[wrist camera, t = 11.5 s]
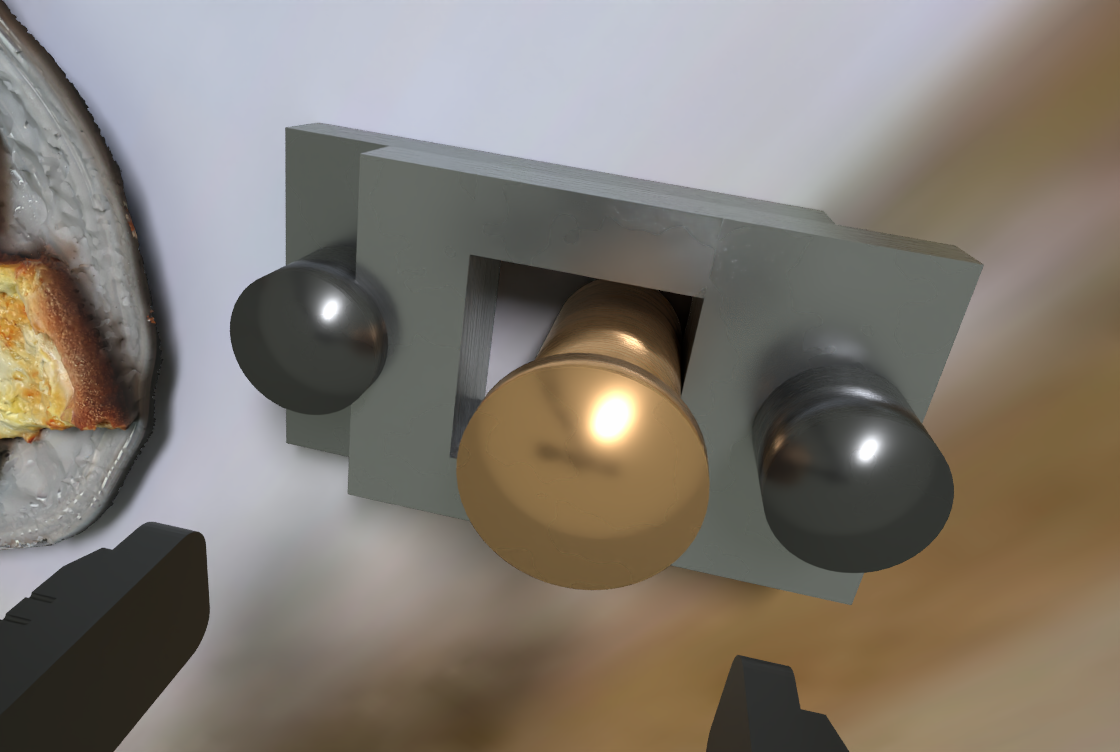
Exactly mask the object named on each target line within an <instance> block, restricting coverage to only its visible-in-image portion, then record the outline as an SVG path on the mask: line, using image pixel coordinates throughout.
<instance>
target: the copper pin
mask: <svg viewBox="0 0 1120 752" xmlns="http://www.w3.org/2000/svg"><path fill="white" fill-rule="evenodd" d="M681 349H682V333H681V327H680V323H679V319H678V317H677V315H676V312H675V311H674V309H673V307H672V305H671V304H670V303H669V302H668V300H667V299H666V298H665V297H664V296H663V295H662V294H661V293H660V292H658V291H657V290H656V289H651V288H646V287H641V286H635V285H630V284H625V283H619V282H614V281H609V280H603V279H599V280H595V281H593V282H590V283H588V284H586V285H585V286H583V287H581V288H580V289H578V290H577V291H576V292H575V293H573V294H572V295H571V297H570V298H569V299H568V300H567V301H566V303H565V304H564V305H563V307H562V309H561V311H560V313H559V315H558V317H557V319H556V320H555V322H554V324H553V326H552V328H551V330H550V332H549V334H548V336H547V338H546V340H545V341H544V343H543V345H542V347H541V349H540V351H539V353H538V355H537V357H536V359H535V361H532V362H529V363H527V364H525V365H523V366H521V367H519V368H517V369H516V370H514V371H512V372H511V373H509V374H508V375H507V376H505V377H504V378H503V379H501V380H500V381H499V382H498V383H497V384H496V385H495V386H494V387H493V388H492V389H491V390H490V391H489V392H488V394H487V395H486V396H485V398H484V399H483V400H482V402H481V403H480V405H479V406H478V408H477V410H476V411H475V413H474V415H473V416H472V418H471V419H470V421H469V423H468V425H467V427H466V429H465V431H464V433H463V436H462V439H461V442H460V445H459V450H458V455H457V467H456V475H457V484H458V490H459V494H460V498H461V502H462V504H463V507H464V509H465V512H466V514H467V516H468V518H469V520H470V521H471V523H472V525H473V527H474V528H475V530H476V531H477V532H478V534H479V535H480V536H481V538H482V539H483V540H484V541H485V542H486V544H487V545H488V546H489V547H490V548H491V549H492V550H493V551H494V552H495V553H497V554H498V555H499V556H500V557H501V558H502V559H504V560H505V561H506V562H508V563H509V564H511V565H512V566H514V567H515V568H517V569H518V570H520V571H522V572H524V573H526V574H528V575H530V576H532V577H534V578H537V579H539V580H542V581H544V582H547V583H550V584H554V585H558V586H561V587H567V588H573V589H583V590H605V589H613V588H619V587H624V586H628V585H632V584H635V583H638V582H641V581H643V580H645V579H648V578H650V577H652V576H654V575H656V574H658V573H659V572H661V571H663V570H664V569H666V568H667V567H668V566H670V565H671V564H672V563H674V562H675V561H676V560H677V559H678V558H679V557H680V556H681V555H682V554H683V553H684V552H685V551H686V550H687V549H688V547H689V546H690V545H691V543H692V542H693V541H694V539H695V537H696V536H697V534H698V532H699V530H700V528H701V526H702V523H703V521H704V518H705V515H706V512H707V507H708V501H709V485H710V483H709V464H708V456H707V448H706V445H705V441H704V437H703V434H702V432H701V430H700V427H699V425H698V423H697V421H696V419H695V417H694V416H693V414H692V412H691V411H690V409H689V408H688V406H687V405H686V404H685V403H684V401H683V400H682V399H681Z"/></svg>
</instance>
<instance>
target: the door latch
mask: <svg viewBox="0 0 1120 752" xmlns="http://www.w3.org/2000/svg"><path fill="white" fill-rule="evenodd" d="M285 134H286V266H284V267H282V268H280V269H278V270H276V271H274V272H272V273H270V274H268V275H266V276H264V277H262V278H260V279H257V280H256V281H254V282H253V283H252V284H250V285H249V286H248V287H247V288H246V289H245V290H244V291H243V292H242V294H241V295H240V296H239V298H238V300H237V302H236V304H235V306H234V309H233V312H232V316H231V321H230V337H231V343H232V348H233V351H234V354H235V357H236V360H237V362H238V364H239V366H240V368H241V369H242V371H243V373H244V374H245V376H246V377H247V378H248V380H249V381H250V382H251V384H252V385H253V386H254V387H255V388H256V389H257V390H258V391H259V392H260V393H262V394H263V395H264V396H265V397H266V398H268V399H269V400H271V401H272V402H274V403H276V404H277V405H279V406H281V407H283V408H286V443H288V444H293V445H298V446H302V447H307V448H311V449H316V450H321V451H325V452H330V453H335V454H339V455H344V456H349V473H348V494H350V495H354V496H359V497H363V498H368V499H372V500H377V501H381V502H386V503H390V504H395V505H400V506H404V507H409V508H413V509H418V510H422V511H427V512H431V513H436V514H440V515H445V516H449V517H454V518H458V519H463V520H468V521H470V520H469V518H468V516H467V514H466V512H465V509H464V507H463V504H462V502H461V498H460V494H459V490H458V484H457V475H456V467H457V455H458V450H459V445H460V442H461V439H462V436H463V433H464V431H465V429H466V427H467V425H468V423H469V421H470V419H471V418H472V416H473V415H474V413H475V411H476V410H477V408H478V406H479V405H480V403H481V402H482V400H483V399H484V398H485V391H486V382H487V374H488V365H489V357H490V348H491V340H492V331H493V323H494V314H495V306H496V297H497V289H498V280H499V272H500V263H501V260H502V261H508V262H513V263H518V264H524V265H529V266H534V267H540V268H545V269H550V270H555V271H561V272H566V273H571V274H577V275H582V276H587V277H593V278H598V279H603V280H609V281H614V282H619V283H625V284H630V285H635V286H641V287H646V288H651V289H657V290H662V291H667V292H673V293H678V294H683V295H688V296H693V299H692V304H691V308H690V312H689V317H688V321H687V325H686V330H685V334H684V338H683V343H682V349H681V399H682V400H683V401H684V403H685V404H686V405H687V406H688V408H689V409H690V411H691V412H692V414H693V416H694V417H695V419H696V421H697V423H698V425H699V427H700V430H701V432H702V434H703V437H704V441H705V445H706V448H707V456H708V464H709V483H710V485H709V501H708V507H707V512H706V515H705V518H704V521H703V523H702V526H701V528H700V530H699V532H698V534H697V536H696V537H695V539H694V541H693V542H692V543H691V545H690V546H689V547H688V549H687V550H686V551H685V552H684V553H683V554H682V555H681V556H680V557H679V558H678V559H677V560H676V561H675V562H674V563H672V564H671V565H672V566H676V567H681V568H685V569H690V570H694V571H699V572H703V573H708V574H713V575H717V576H722V577H726V578H731V579H735V580H740V581H744V582H749V583H753V584H758V585H762V586H767V587H772V588H776V589H781V590H785V591H790V592H794V593H799V594H803V595H808V596H812V597H817V598H821V599H826V600H831V601H835V602H840V603H844V604H849V605H852V602H853V600H854V597H855V595H856V592H857V589H858V587H859V584H860V582H861V579H862V577H863V574H864V573H866V572H873V571H879V570H882V569H886V568H890V567H892V566H895V565H898V564H900V563H902V562H904V561H906V560H908V559H910V558H912V557H913V556H915V555H917V554H918V553H920V552H921V551H922V550H923V549H925V548H926V547H927V546H928V545H929V544H930V543H931V542H932V541H933V540H934V539H935V538H936V537H937V536H938V534H939V533H940V531H941V530H942V529H943V527H944V525H945V523H946V521H947V519H948V517H949V514H950V511H951V509H952V504H953V498H954V485H953V479H952V474H951V471H950V468H949V466H948V464H947V462H946V460H945V458H944V456H943V455H942V453H941V452H940V450H939V449H938V447H937V446H936V444H935V443H934V441H933V440H932V438H931V437H930V435H929V434H928V432H927V431H926V429H925V428H924V426H923V424H922V423H923V420H924V417H925V415H926V412H927V410H928V407H929V405H930V402H931V399H932V397H933V394H934V392H935V389H936V387H937V384H938V381H939V379H940V376H941V374H942V371H943V369H944V366H945V364H946V361H947V358H948V356H949V353H950V351H951V348H952V346H953V343H954V340H955V338H956V335H957V333H958V330H959V328H960V325H961V322H962V320H963V317H964V315H965V312H966V310H967V307H968V304H969V302H970V299H971V297H972V294H973V292H974V289H975V286H976V284H977V281H978V279H979V276H980V274H981V271H982V269H983V266H984V264H982V263H981V262H979V261H977V260H976V259H974V258H973V257H971V256H970V255H968V254H967V253H965V252H964V251H962V250H961V249H959V248H958V247H956V246H954V245H948V244H943V243H937V242H931V241H926V240H920V239H914V238H909V237H903V236H897V235H892V234H886V233H880V232H875V231H869V230H863V229H858V228H852V227H846V226H841V225H836V224H835V223H834V222H833V221H832V220H831V219H830V218H829V217H828V216H827V215H826V214H825V213H824V212H823V211H820V210H814V209H809V208H803V207H797V206H791V205H786V204H780V203H774V202H769V201H763V200H757V199H751V198H746V197H740V196H734V195H729V194H723V193H717V192H712V191H706V190H700V189H694V188H689V187H683V186H677V185H672V184H666V183H660V182H654V181H649V180H643V179H637V178H632V177H626V176H620V175H614V174H609V173H603V172H597V171H592V170H586V169H580V168H575V167H569V166H563V165H557V164H552V163H546V162H540V161H535V160H529V159H523V158H517V157H512V156H506V155H500V154H495V153H489V152H483V151H477V150H472V149H466V148H460V147H455V146H449V145H443V144H437V143H432V142H426V141H420V140H415V139H409V138H403V137H398V136H392V135H386V134H380V133H375V132H369V131H363V130H358V129H352V128H346V127H340V126H335V125H329V124H323V123H313V124H306V125H299V126H292V127H286V128H285Z"/></svg>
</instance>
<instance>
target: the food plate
mask: <svg viewBox="0 0 1120 752" xmlns="http://www.w3.org/2000/svg"><path fill="white" fill-rule="evenodd" d="M16 18H17V17H16V16H15V15H13V14H11V12H10V9H9V8H8V7H7V6H6V4H5V3H4V2H3V1H2V0H0V546H4V545H5V546H8V547H5V548H4V547H0V550H5V549H15V548H13V547H18V548H25V547H38V546H34V545H36V544H37V542H41V541H42V540H43V541H47V542H48V543H47V544H46V545H44V546H49V545H52V544H56V543H57V542H60V540H65V539H66V538H69V537H73V536H74V535H75V534H80V532H83V531H84V530H85V529H87V528H88V526H90V525H91V524H93V523H94V522H95V521H97V520H98V519H99V518H100V517H101V515H102V514H103V513H104V512H105V511H106V509H108V508H109V507H110V506H111V505H113V503H112V501H113V500H114V499H115V497H116V496H117V494H118V492H119V491H118V490H119V488H120V487H122V486H123V483H124V480H125V478H126V475H128V473H129V472H128V471H130V470H131V467H132V465H133V464H134V460H137V459H136V458H137V455H140V454H141V448H143V447H145V446H144V444H145V443H146V442H148V439H147V438H149V436H151V434H152V433H153V432H152V430H153V429H154V428H153V427H154V426H155V424H154V422H155V420H156V419H155V418H154V413H155V412H154V410H155V407H154V403H155V400H154V399H153V397H152V396H155V395H154V393H155V392H154V388H155V389H156V383H157V379H158V375H159V373H158V371H159V369H160V368H161V366H160V365H161V363H162V361H163V359H161V357H160V356H161V350H160V348H159V346H160V339H159V337H158V335H157V334H158V333H159V332H157V327H156V323H155V321H154V319H155V318H153V317H152V316H151V314H152V313H153V312H154V310H152V309H151V307H150V306H152V305H153V304H152V298H151V293H150V290H149V287H148V282H147V277H146V274H145V273H144V267H143V264H144V263H143V259H142V256H141V254H140V250H138V248H139V243H138V239H137V234H136V230H135V228H134V225H133V223H132V219H131V216H130V214H129V211H128V207H127V201H126V197H125V193H124V190H123V181H122V178H121V172H122V171H121V172H120V168H119V166H118V164H117V163H116V161H114V160H113V158H112V156H113V155H112V154H111V151H110V150H109V147H107V146H106V144H105V138H104V137H102V136H101V135H100V129H99V128H98V125H97V124H96V123H95V122H94V118H93V116H92V114H91V113H90V112H89V111H87V108H89V107H88V106H87V105H86V104H85V100H84V99H83V98H82V97H81V96H80V95H79V93H78V91H77V90H76V89H75V87H74V85H73V83H70V82H69V80H68V79H66V74H65V73H64V72H63V71H62V70H61V68H60V67H59V66H58V65H57V63H56V62H55V60H54V58H53V57H52V56H51V55H50V54H49V53H48V52H47V51H46V49H45V48H44V47H43V46H41V45H40V43H39V42H38V41H37V40H35V38H34V37H33V36H32V34H29V33H27V31H28V30H27V28H26V27H25V26H23V25H21V22H18V21H17V20H16ZM41 543H43V542H41ZM20 544H26V545H27V546H25V547H21V546H20Z"/></svg>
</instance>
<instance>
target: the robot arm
mask: <svg viewBox="0 0 1120 752" xmlns="http://www.w3.org/2000/svg"><path fill="white" fill-rule="evenodd" d="M209 614H210V605H209V588H208V572H207V555H206V542H205V539H204V536H203V535H202V534H201V533H200V532H196V531H192V530H188V529H183V528H179V527H174V526H170V525H165V524H161V523H156V522H147V523H145V524H143V525H141V526H140V527H139V528H137V529H136V530H135V531H134V532H133V533H132V534H130V535H129V536H128V537H127V538H126V539H125V540H123V541H122V542H121V543H120V544H119V545H118V546H117V547H115V548H114V549H113V550H111V549H106V548H101V549H99V550H97V551H95V552H92V553H90V554H88V555H86V556H84V557H82V558H80V559H78V560H76V561H74V562H72V563H69V564H67V565H65V566H63V567H62V568H61V569H59V570H58V571H57V572H56V573H55V574H53V575H52V576H51V577H50V578H48V579H47V580H46V581H45V582H44V583H42V584H41V585H40V586H39V587H38V588H36V589H35V590H34V591H33V592H32V594H31V596H30V598H26V597H25V598H24V599H23V600H22V601H21V602H19V603H18V604H17V605H16V606H15V607H13V608H12V609H11V610H10V611H8V612H7V613H6V616H5V618H4V619H3V620H0V752H114V750H115V749H116V748H117V747H118V746H119V744H120V743H121V742H122V741H123V739H124V738H125V737H126V736H127V735H128V733H129V732H130V731H131V730H132V728H133V727H134V726H135V725H136V724H137V722H138V721H139V720H140V719H141V717H142V716H143V715H144V714H145V713H146V711H147V710H148V709H149V708H150V706H151V705H152V704H153V703H154V702H155V700H156V699H157V698H158V697H159V695H160V694H161V693H162V692H163V691H164V689H165V688H166V687H167V686H168V684H169V683H170V682H171V681H172V680H173V678H174V677H175V676H176V675H177V673H178V672H179V671H180V670H181V668H182V667H183V666H184V665H185V664H186V662H187V661H188V660H189V659H190V657H191V656H192V655H193V654H194V652H195V651H196V649H197V648H198V646H199V644H200V642H201V641H202V638H203V636H204V634H205V631H206V628H207V625H208V620H209ZM706 752H849V750H848V749H847V747H846V746H845V744H844V743H843V741H842V740H841V738H840V737H839V735H838V733H837V732H836V730H835V729H834V727H833V726H832V724H831V723H830V721H829V720H828V718H827V716H826V715H824V714H819V713H815V712H811V711H806V710H802V709H800V704H799V698H798V693H797V687H796V682H795V677H794V673H793V670H792V669H791V667H789V666H785V665H781V664H776V663H772V662H767V661H763V660H758V659H754V658H749V657H745V656H740V655H737V656H736V657H735V659H734V661H733V663H732V666H731V669H730V672H729V675H728V678H727V681H726V684H725V687H724V690H723V693H722V696H721V699H720V702H719V705H718V708H717V711H716V714H715V717H714V720H713V723H712V726H711V730H710V733H709V738H708V743H707V749H706Z"/></svg>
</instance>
